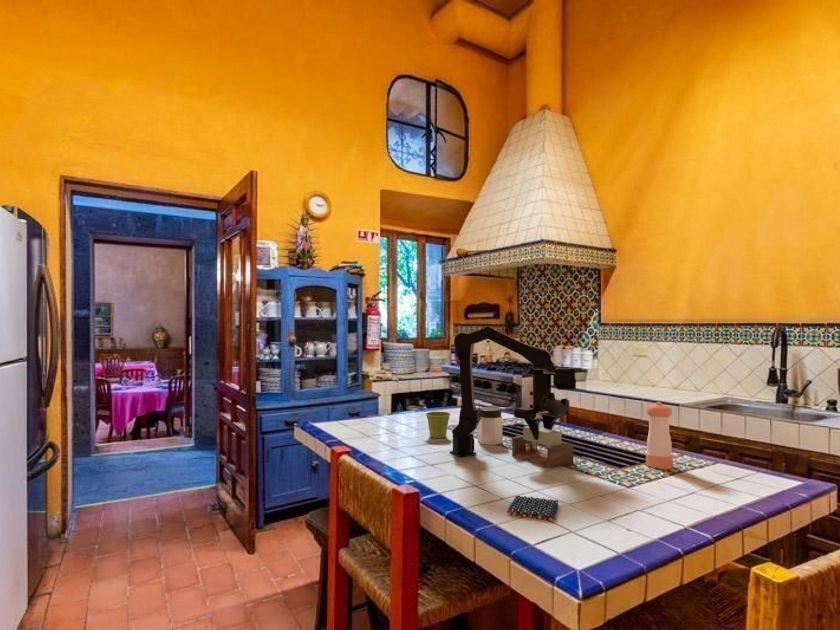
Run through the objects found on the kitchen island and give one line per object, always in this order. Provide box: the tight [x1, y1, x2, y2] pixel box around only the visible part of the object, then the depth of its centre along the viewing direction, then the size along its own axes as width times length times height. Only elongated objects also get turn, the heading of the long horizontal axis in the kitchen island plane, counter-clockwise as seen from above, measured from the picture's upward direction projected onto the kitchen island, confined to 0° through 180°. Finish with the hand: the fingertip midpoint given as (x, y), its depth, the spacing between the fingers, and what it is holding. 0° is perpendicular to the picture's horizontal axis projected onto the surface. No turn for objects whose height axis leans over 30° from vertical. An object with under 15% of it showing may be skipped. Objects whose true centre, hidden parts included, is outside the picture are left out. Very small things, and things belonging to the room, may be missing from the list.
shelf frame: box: [511, 435, 575, 469], centre depth 158 cm, size 16×10×6 cm, turn 32°
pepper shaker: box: [645, 401, 674, 470], centre depth 151 cm, size 7×7×19 cm
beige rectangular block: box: [522, 425, 563, 447], centre depth 158 cm, size 12×4×4 cm, turn 32°
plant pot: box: [425, 411, 451, 439], centre depth 189 cm, size 9×9×9 cm
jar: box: [477, 406, 503, 446], centre depth 181 cm, size 9×8×12 cm
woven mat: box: [506, 495, 560, 522], centre depth 115 cm, size 10×11×2 cm
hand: (541, 438), depth 158 cm, fingers closed on beige rectangular block, 4 cm apart
